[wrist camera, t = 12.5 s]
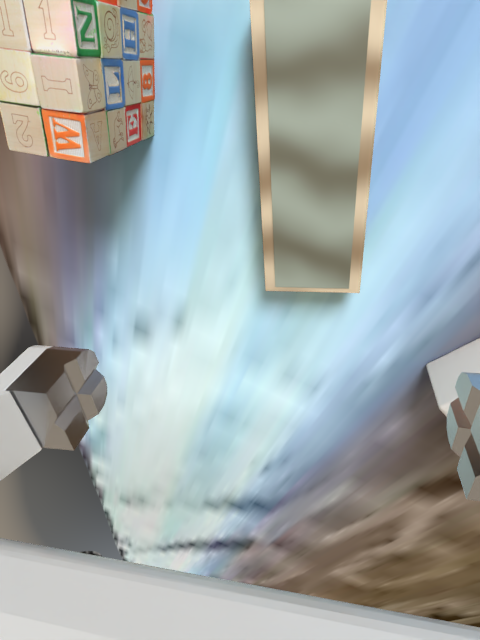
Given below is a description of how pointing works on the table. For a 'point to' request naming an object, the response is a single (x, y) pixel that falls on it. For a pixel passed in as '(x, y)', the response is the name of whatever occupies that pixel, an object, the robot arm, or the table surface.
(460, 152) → the table surface
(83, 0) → the stack of blocks
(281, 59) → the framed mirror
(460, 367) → the medicine bottle
